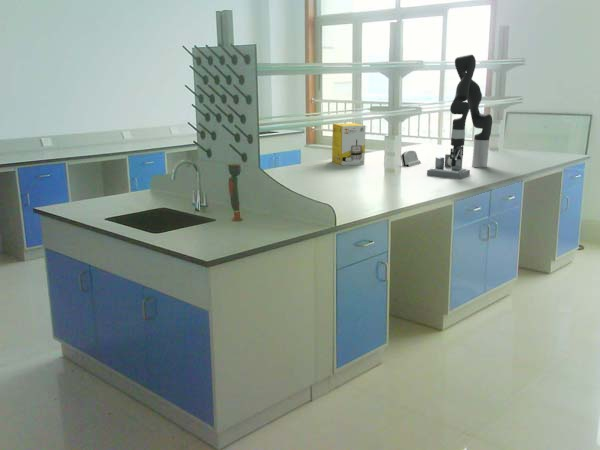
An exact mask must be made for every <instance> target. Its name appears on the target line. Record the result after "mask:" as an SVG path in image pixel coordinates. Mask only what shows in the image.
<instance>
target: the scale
mask: <svg viewBox="0 0 600 450" xmlns="http://www.w3.org/2000/svg"><path fill="white" fill-rule="evenodd" d="M463 157H464V155H463V156H462V158H461V165H460V170H451V162H452V160H451V159H450V154H449V153H447V154H445V156H444V168H443V169H437V168H435V166H434V167H430V169H427V170H426V176H429V177H437V178H438V177H440V178H446V179H447V178H448V179H455V180H456V179H457V180H460V179H464V178H465V177H468V176H470V172H471V170H470V169H467V168H463V159H464V158H463ZM456 159H457V157H456Z"/></svg>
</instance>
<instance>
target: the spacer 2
mask: <svg viewBox="0 0 600 450" xmlns="http://www.w3.org/2000/svg"><path fill="white" fill-rule="evenodd" d="M460 165H461V159H456V164H455V166H451V170H460Z"/></svg>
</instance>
